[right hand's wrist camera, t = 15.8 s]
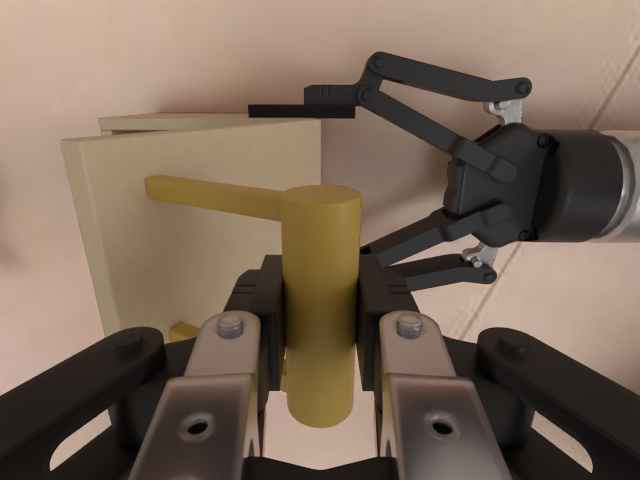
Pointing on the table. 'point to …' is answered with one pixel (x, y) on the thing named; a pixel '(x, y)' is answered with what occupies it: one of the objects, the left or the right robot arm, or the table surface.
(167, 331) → the lid
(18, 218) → the table surface
